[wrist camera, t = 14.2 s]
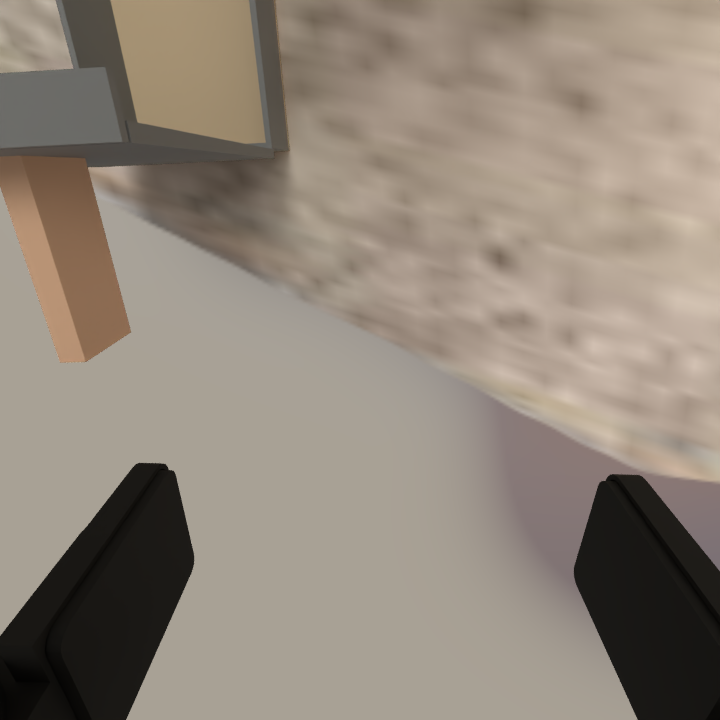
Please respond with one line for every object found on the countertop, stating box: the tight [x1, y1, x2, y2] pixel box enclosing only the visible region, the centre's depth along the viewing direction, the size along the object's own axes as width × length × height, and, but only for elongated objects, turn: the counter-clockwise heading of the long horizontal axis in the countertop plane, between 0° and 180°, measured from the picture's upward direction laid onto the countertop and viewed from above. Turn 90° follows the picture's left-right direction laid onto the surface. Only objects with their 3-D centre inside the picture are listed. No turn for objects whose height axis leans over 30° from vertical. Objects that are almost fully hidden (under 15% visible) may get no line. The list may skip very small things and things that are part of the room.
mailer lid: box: [0, 67, 274, 363], centre depth 24 cm, size 21×13×10 cm
